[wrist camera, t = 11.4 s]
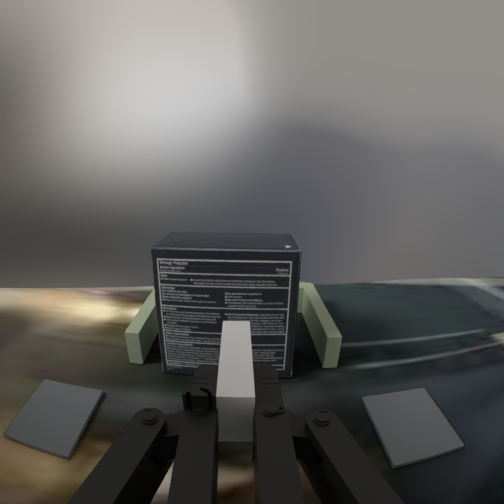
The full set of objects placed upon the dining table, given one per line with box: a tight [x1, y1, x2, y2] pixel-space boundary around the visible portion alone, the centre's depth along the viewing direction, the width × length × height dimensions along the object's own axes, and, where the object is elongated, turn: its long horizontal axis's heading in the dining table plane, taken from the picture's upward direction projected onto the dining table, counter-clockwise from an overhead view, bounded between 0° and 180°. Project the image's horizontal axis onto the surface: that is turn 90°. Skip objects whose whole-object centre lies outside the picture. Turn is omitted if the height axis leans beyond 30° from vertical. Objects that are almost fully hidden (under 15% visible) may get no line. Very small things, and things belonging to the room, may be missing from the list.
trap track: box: [3, 283, 464, 469], centre depth 25 cm, size 30×24×3 cm
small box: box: [150, 232, 302, 378], centre depth 26 cm, size 11×6×10 cm, turn 90°
